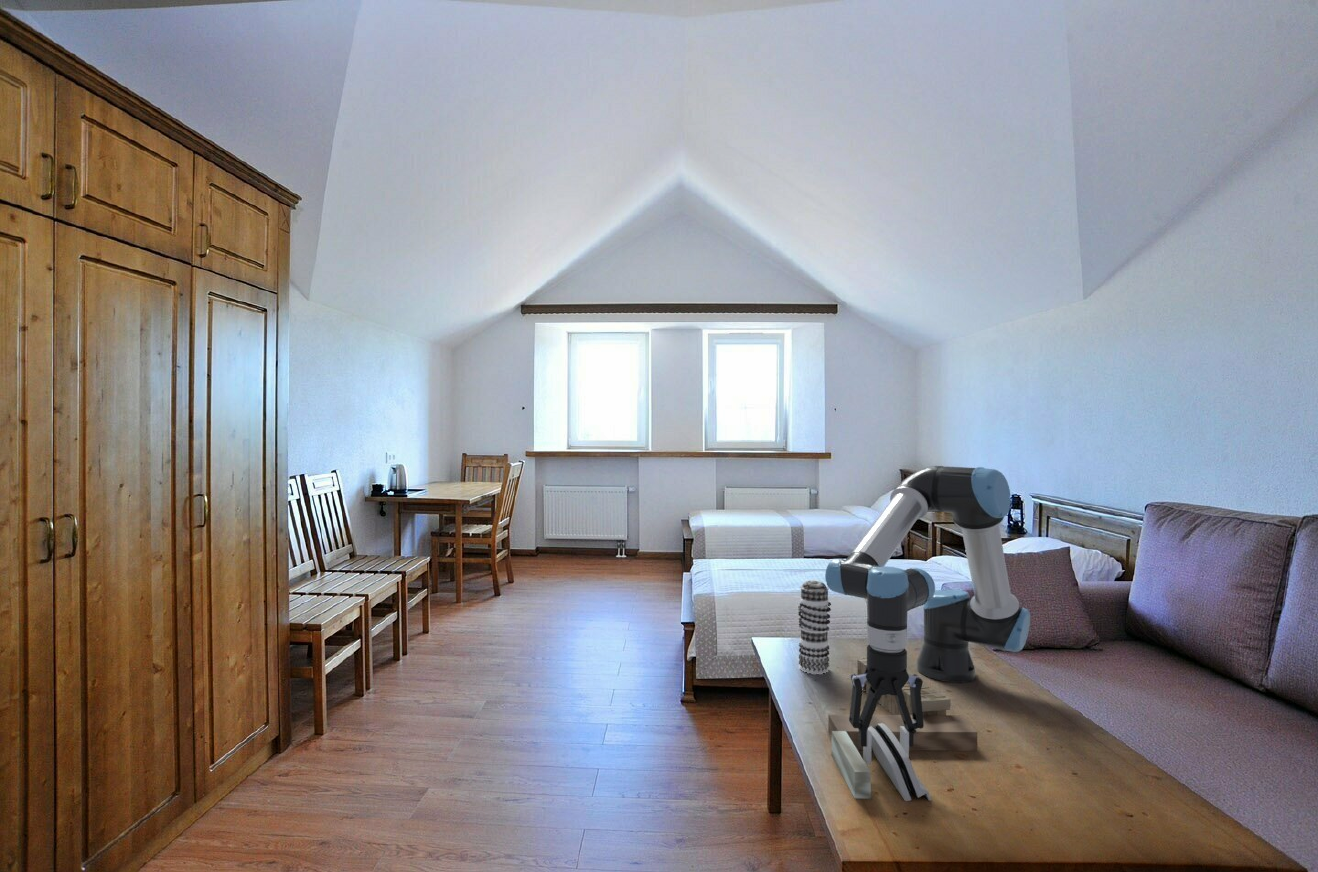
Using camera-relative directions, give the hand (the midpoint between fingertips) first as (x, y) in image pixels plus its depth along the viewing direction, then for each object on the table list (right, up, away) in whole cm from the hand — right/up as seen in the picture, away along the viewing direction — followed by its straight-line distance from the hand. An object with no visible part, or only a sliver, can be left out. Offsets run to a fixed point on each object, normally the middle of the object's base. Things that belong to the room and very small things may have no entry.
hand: (885, 761), depth 126 cm
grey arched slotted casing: (+2, -3, 0) cm, 4 cm away
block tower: (+15, -3, +32) cm, 36 cm away
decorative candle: (0, -3, +57) cm, 57 cm away
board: (+8, -3, +6) cm, 10 cm away
